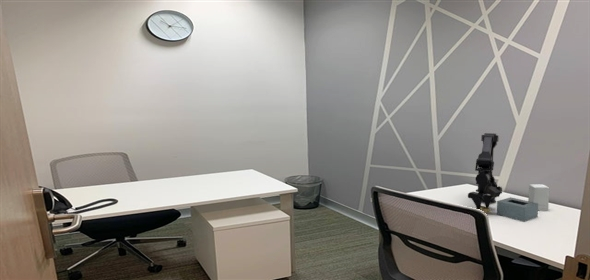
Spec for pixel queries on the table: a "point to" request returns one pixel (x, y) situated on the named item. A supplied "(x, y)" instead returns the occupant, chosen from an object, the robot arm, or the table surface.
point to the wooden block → (484, 209)
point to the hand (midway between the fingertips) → (483, 209)
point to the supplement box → (539, 195)
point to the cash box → (517, 209)
